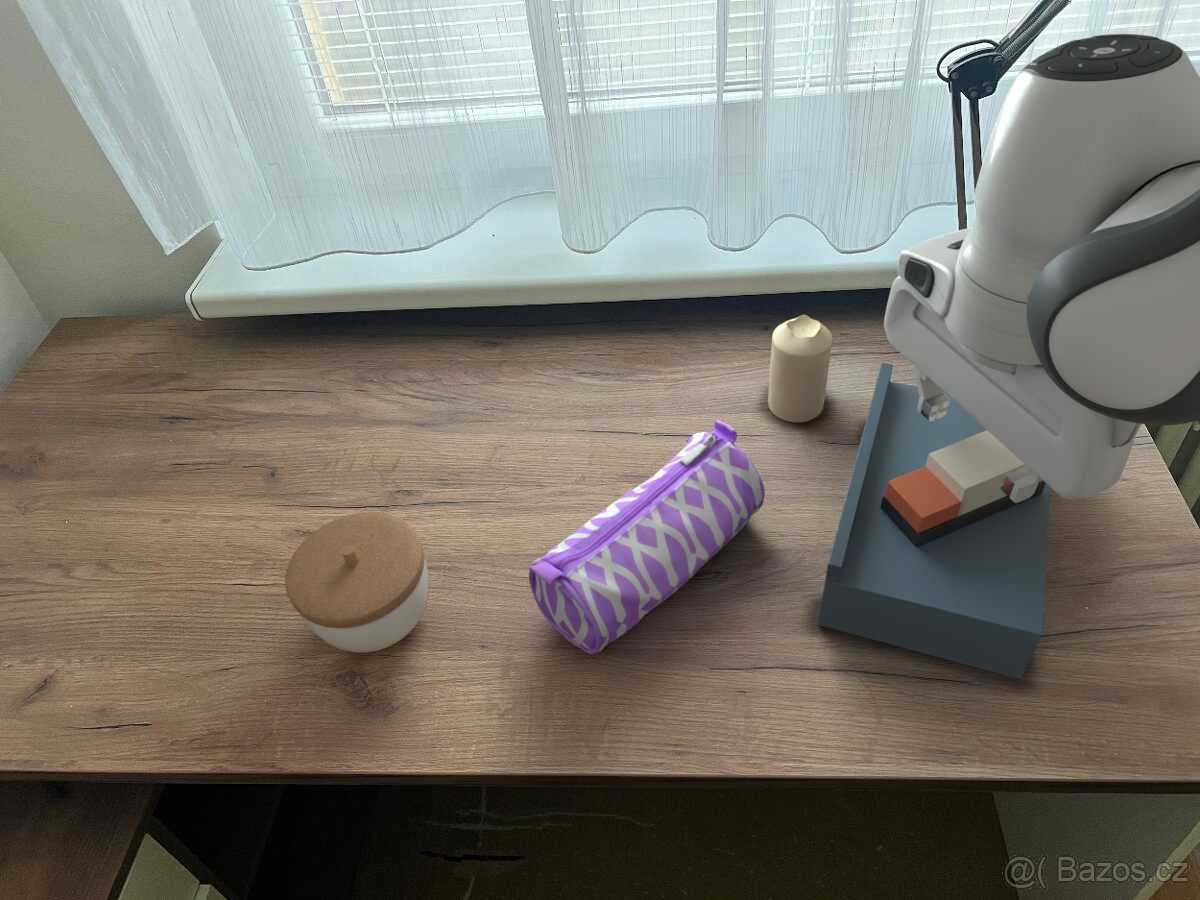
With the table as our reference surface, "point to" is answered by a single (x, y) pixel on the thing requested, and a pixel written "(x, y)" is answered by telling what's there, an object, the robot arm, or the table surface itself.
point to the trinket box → (360, 581)
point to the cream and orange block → (952, 489)
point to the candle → (799, 369)
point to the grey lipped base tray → (934, 553)
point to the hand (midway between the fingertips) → (971, 452)
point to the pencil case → (647, 541)
